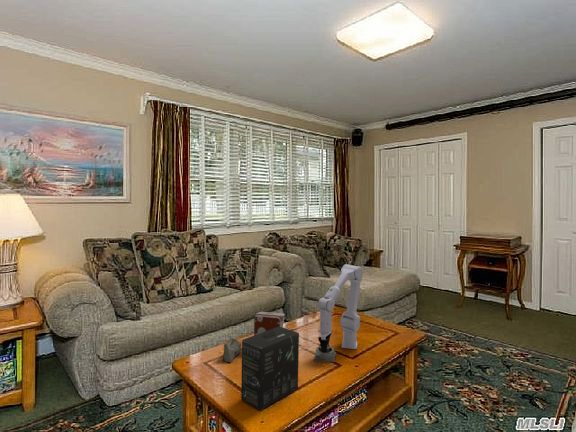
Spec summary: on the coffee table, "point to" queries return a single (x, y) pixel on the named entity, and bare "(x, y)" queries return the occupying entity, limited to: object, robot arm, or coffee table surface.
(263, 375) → the headset box
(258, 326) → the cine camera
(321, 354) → the mount
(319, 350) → the lens
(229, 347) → the mineral rock
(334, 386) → the coffee table surface
